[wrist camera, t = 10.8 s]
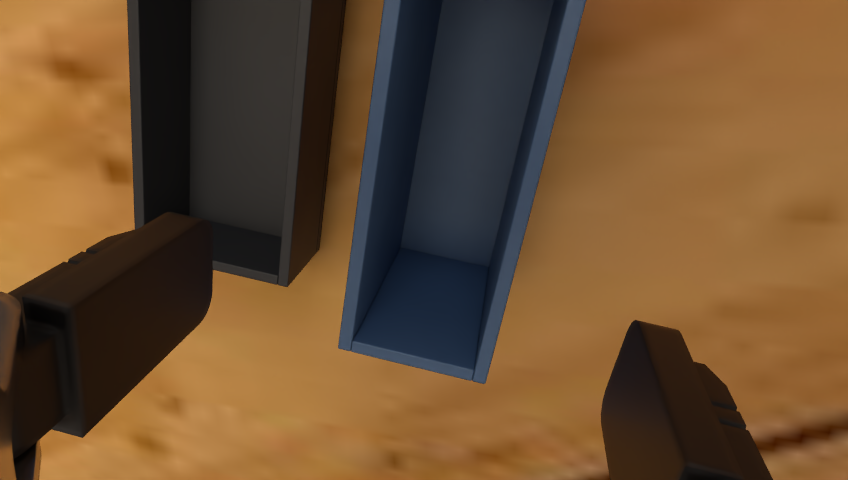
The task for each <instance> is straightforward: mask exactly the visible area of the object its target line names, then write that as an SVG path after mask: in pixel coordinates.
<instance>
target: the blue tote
mask: <svg viewBox="0 0 848 480" xmlns="http://www.w3.org/2000/svg"><path fill="white" fill-rule="evenodd" d="M585 3H586V0H384V6H383V13H382V21H381V29H380V36H379V44H378V51H377V59H376V66H375V74H374V81H373V89H372V96H371V104H370V111H369V119H368V126H367V134H366V142H365V149H364V157H363V164H362V172H361V179H360V187H359V194H358V202H357V209H356V217H355V224H354V232H353V239H352V247H351V255H350V262H349V270H348V277H347V285H346V292H345V300H344V307H343V315H342V322H341V330H340V337H339V345H338V348H339V349H343V350H347V351H352V352H355V353H359V354H363V355H367V356H372V357H376V358H380V359H384V360H388V361H392V362H396V363H400V364H404V365H408V366H413V367H417V368H421V369H425V370H429V371H433V372H437V373H441V374H445V375H449V376H454V377H458V378H462V379H466V380H470V381H471V380H473V381H474V382H478V383H482V384H485V383H486V379H487V375H488V372H489V368H490V364H491V360H492V356H493V353H494V349H495V345H496V341H497V337H498V334H499V330H500V326H501V322H502V318H503V315H504V311H505V307H506V303H507V299H508V296H509V292H510V288H511V284H512V280H513V277H514V273H515V269H516V265H517V261H518V258H519V254H520V250H521V246H522V242H523V239H524V235H525V231H526V227H527V223H528V220H529V216H530V212H531V208H532V204H533V201H534V197H535V193H536V189H537V185H538V182H539V178H540V174H541V170H542V166H543V163H544V159H545V155H546V151H547V147H548V144H549V140H550V136H551V132H552V128H553V125H554V121H555V117H556V113H557V109H558V106H559V102H560V98H561V94H562V90H563V87H564V83H565V79H566V75H567V71H568V68H569V64H570V60H571V56H572V52H573V49H574V45H575V41H576V37H577V33H578V30H579V26H580V22H581V18H582V14H583V11H584V7H585Z"/></svg>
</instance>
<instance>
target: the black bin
mask: <svg viewBox="0 0 848 480" xmlns="http://www.w3.org/2000/svg"><path fill="white" fill-rule="evenodd" d="M345 4H346V0H127V10H128V40H129V69H130V99H131V129H132V159H133V189H134V218H135V230H136V229H138V228H140V227H142V226H143V225H145V224H147V223H149V222H150V221H152V220H154V219H156V218H157V217H159V216H161V215H162V214H164V213H166V212H174V213H179V214H183V215H187V216H192V217H196V218H200V219H205V220H208V221H209V222H210V223H211V225H212V228H213V270H217V271H221V272H226V273H230V274H234V275H238V276H243V277H247V278H251V279H255V280H259V281H264V282H268V283H272V284H278V285H281V286H285V287H288V286H289V285H290V283H291V282H292V281H293V280H294V279H295V277H296V276H297V275H298V274H299V273H300V272H301V270H302V269H303V268H304V267H305V266H306V264H307V263H308V262H309V261H310V260H311V259H312V257H313V256H314V255H315V254H316V253H317V251H318V250H319V246H320V236H321V227H322V218H323V208H324V199H325V190H326V181H327V171H328V162H329V153H330V143H331V134H332V125H333V116H334V106H335V97H336V88H337V78H338V69H339V60H340V51H341V41H342V32H343V23H344V13H345Z"/></svg>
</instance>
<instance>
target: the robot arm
mask: <svg viewBox="0 0 848 480" xmlns="http://www.w3.org/2000/svg"><path fill="white" fill-rule="evenodd" d="M212 278H213V228H212V225H211V223H210V222H209V221H208V220H205V219H200V218H196V217H192V216H187V215H183V214H179V213H174V212H166V213H164V214H162V215H161V216H159V217H157V218H156V219H154V220H152V221H150V222H149V223H147V224H145V225H143V226H142V227H140V228H138V229H136V230H132V231H128V232H125V233H121V234H118V235H114V236H110V237H107V238H106V239H104V240H102V241H100V242H98V243H97V244H95V245H93V246H91V247H89V248H88V249H86V252H81V253H79V254H77V255H75V256H73V257H72V258H70V259H69V261H68V263H67V262H63V263H61V264H59V265H57V266H56V267H54V268H52V269H50V270H49V271H47V272H45V273H43V274H41V275H40V276H38V277H36V278H34V279H33V280H31V281H29V282H27V283H25V284H24V285H22V286H20V287H18V288H17V289H15V290H13V291H11V292H9V293H8V294H7V293H4V292H0V480H39V476H40V464H41V446H40V438H42V437H43V436H44V435H45V434H46V433H47V432H48V431H49V430H51V429H53V430H56V431H60V432H63V433H67V434H71V435H74V436H78V437H82V438H83V437H84V436H85V435H86V434H87V433H88V432H89V431H90V430H91V429H92V428H93V427H94V426H95V425H96V424H97V423H98V422H99V421H100V420H101V419H102V418H103V417H104V416H105V415H106V414H107V413H108V412H109V411H111V410H112V409H113V408H114V407H115V406H116V405H117V404H118V403H119V402H120V401H121V400H122V399H123V398H124V397H125V396H126V395H127V394H128V393H129V392H130V391H131V390H132V389H133V388H134V387H135V386H136V385H137V384H138V383H139V382H140V381H141V380H142V379H143V378H144V377H145V376H146V375H147V374H148V373H150V372H151V371H152V370H153V369H154V368H155V367H156V366H157V365H158V364H159V363H160V362H161V361H162V360H163V359H164V358H165V357H166V356H167V355H168V354H169V353H170V352H171V351H172V350H173V349H174V348H175V347H176V346H177V345H178V344H179V343H180V342H181V341H182V340H183V339H184V338H185V337H186V336H187V335H188V334H190V333H191V332H192V331H193V330H194V329H195V328H196V327H197V326H198V325H199V324H200V323H201V321H202V320H203V319H204V317H205V315H206V313H207V311H208V308H209V306H210V302H211V298H212ZM736 410H737V406H736V404H735V402H734V400H733V398H732V396H731V394H730V392H729V390H728V388H727V386H726V385H725V384H724V383H723V382H722V381H721V380H720V379H719V378H718V377H717V376H716V375H715V374H714V373H713V372H712V371H711V370H710V369H709V368H708V367H707V366H706V365H705V364H701V363H697V362H693V360H692V357H691V355H690V353H689V351H688V348H687V346H686V344H685V341H684V339H683V337H682V335H681V333H680V331H679V330H676V329H672V328H667V327H663V326H659V325H654V324H650V323H646V322H642V321H637V320H635V321H633V322H632V323H631V325H630V327H629V329H628V331H627V333H626V336H625V339H624V341H623V344H622V347H621V349H620V352H619V355H618V358H617V360H616V363H615V366H614V368H613V371H612V374H611V377H610V379H609V382H608V385H607V387H606V390H605V394H604V398H603V403H602V411H601V425H602V432H603V438H604V444H605V451H606V457H607V463H608V469H609V476H610V480H773V479H772V477H771V475H770V473H769V471H768V469H767V467H766V465H765V463H764V461H763V459H762V457H761V455H760V453H759V451H758V449H757V447H756V445H755V443H754V441H753V439H752V436H751V434H750V432H749V431H748V430H746V424H745V422H744V420H743V418H742V416H741V414H740V412H738V411H736Z"/></svg>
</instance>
